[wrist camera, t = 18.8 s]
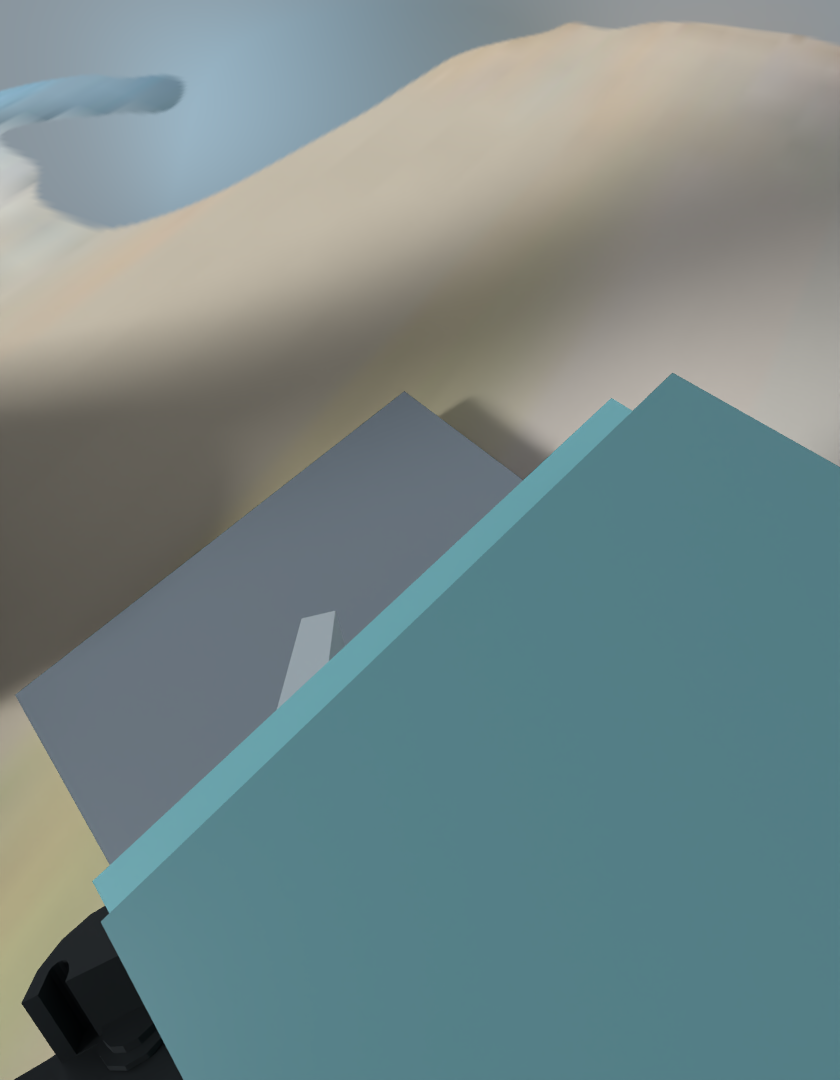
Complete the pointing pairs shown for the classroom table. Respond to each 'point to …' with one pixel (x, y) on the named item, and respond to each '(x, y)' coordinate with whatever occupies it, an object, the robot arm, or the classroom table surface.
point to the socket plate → (253, 616)
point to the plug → (538, 796)
